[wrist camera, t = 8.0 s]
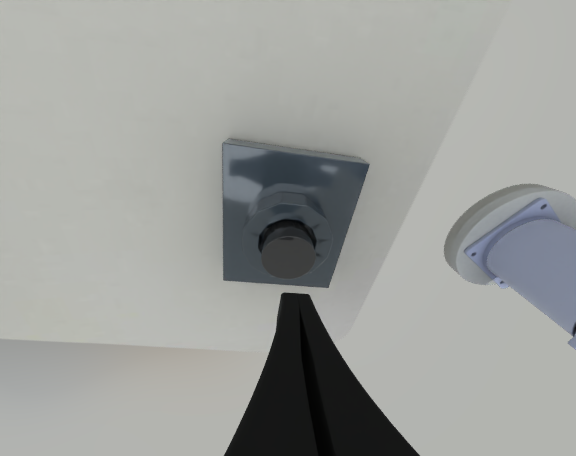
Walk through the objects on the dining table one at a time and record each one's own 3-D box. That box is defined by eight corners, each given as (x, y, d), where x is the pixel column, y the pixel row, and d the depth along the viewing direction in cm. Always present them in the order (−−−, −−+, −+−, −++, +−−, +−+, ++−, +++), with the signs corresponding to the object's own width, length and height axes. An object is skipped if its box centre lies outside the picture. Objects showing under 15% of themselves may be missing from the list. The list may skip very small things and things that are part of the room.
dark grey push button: (265, 217, 15) (263, 233, 13) (315, 223, 15) (321, 239, 13) (260, 258, 16) (259, 277, 15) (306, 262, 17) (310, 281, 15)
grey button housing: (228, 138, 15) (214, 148, 12) (360, 157, 16) (382, 172, 13) (227, 266, 21) (218, 297, 18) (324, 274, 22) (333, 305, 19)
